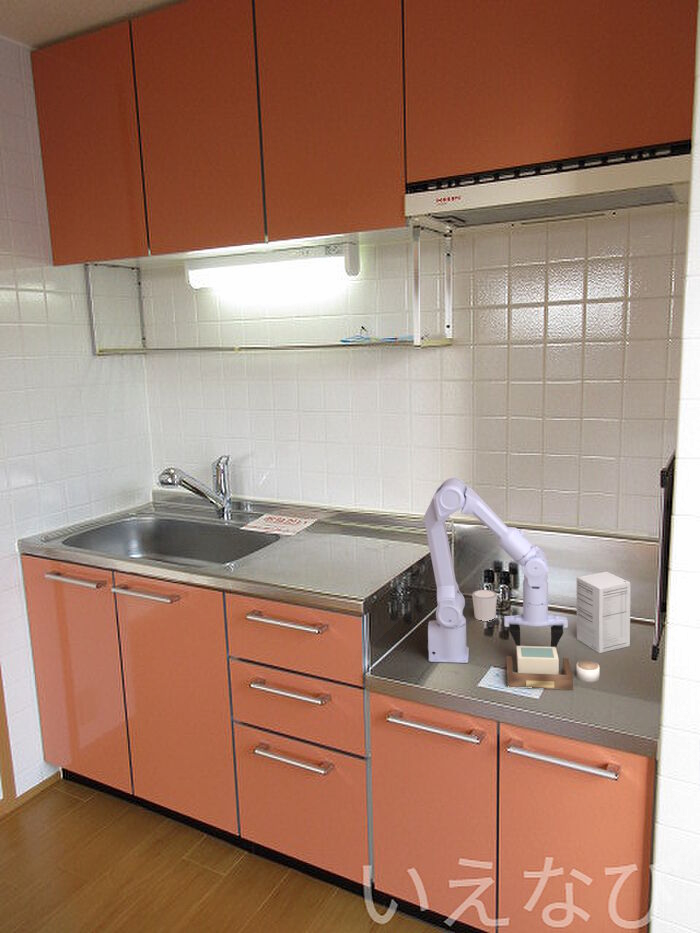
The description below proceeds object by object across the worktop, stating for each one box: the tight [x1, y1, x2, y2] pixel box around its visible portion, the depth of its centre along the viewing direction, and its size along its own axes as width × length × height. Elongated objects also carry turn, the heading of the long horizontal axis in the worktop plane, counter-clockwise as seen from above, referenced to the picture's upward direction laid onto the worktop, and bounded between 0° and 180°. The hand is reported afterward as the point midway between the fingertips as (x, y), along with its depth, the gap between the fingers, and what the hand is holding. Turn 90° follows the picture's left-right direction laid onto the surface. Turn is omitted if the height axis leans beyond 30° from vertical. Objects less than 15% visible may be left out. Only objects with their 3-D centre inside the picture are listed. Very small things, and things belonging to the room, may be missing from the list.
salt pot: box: [575, 659, 601, 683], centre depth 157 cm, size 5×5×3 cm
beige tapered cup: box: [471, 589, 498, 622], centre depth 192 cm, size 7×7×7 cm
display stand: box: [505, 655, 574, 691], centre depth 157 cm, size 14×9×3 cm
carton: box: [516, 645, 560, 675], centre depth 161 cm, size 9×6×4 cm
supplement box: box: [576, 571, 632, 654], centre depth 172 cm, size 10×9×17 cm
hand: (535, 654), depth 166 cm, fingers open, 7 cm apart
